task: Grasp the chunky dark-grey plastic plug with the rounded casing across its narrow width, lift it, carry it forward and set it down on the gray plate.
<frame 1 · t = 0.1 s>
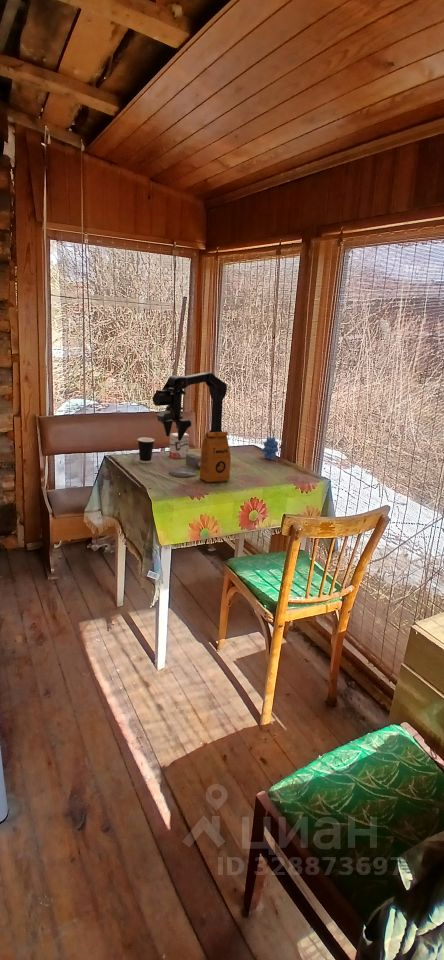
hand: (173, 438, 252), 15 cm above the table, fingers open, 9 cm apart
grapes: (270, 459, 286), on the table
gray plate: (182, 473, 251), on the table
dixie cup: (145, 462, 266), on the table
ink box: (178, 457, 279), on the table
coffee package: (214, 480, 245), on the table
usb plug: (193, 466, 264), on the table
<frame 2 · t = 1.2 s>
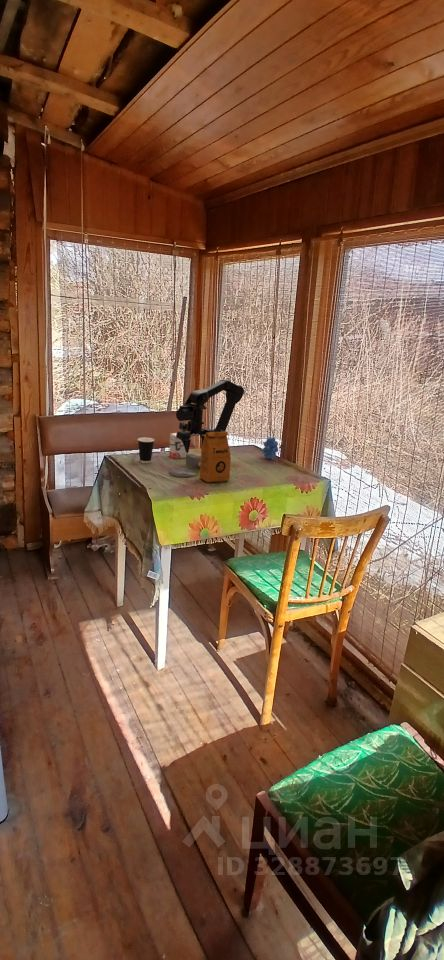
hand: (194, 451, 262), 7 cm above the table, fingers open, 9 cm apart
nothing on the table moved.
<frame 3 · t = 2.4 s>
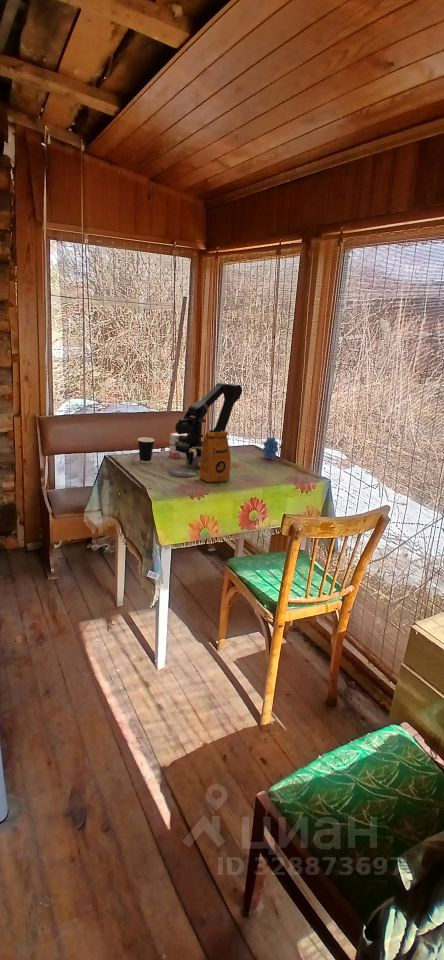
hand: (193, 464, 264), 1 cm above the table, fingers closed on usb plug, 4 cm apart
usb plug: (193, 466, 264), on the table, touching gripper
everything else where it was.
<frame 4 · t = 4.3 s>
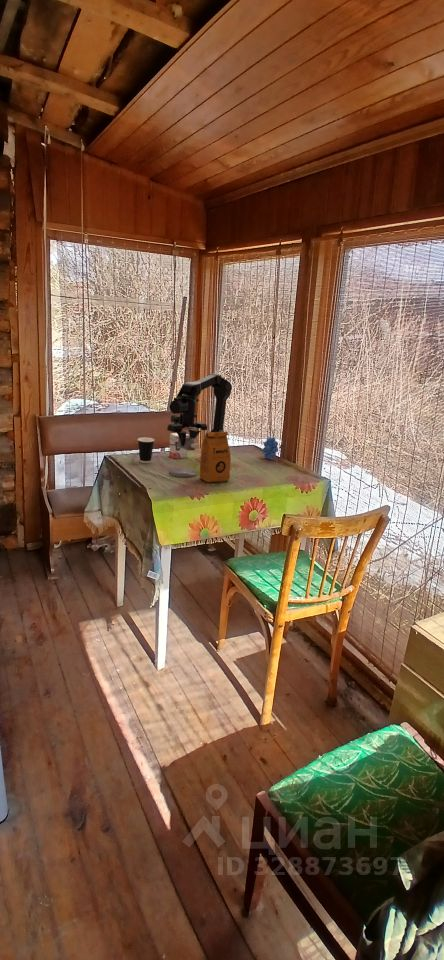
hand: (186, 445, 251), 12 cm above the table, fingers closed on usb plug, 4 cm apart
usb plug: (186, 448, 251), point 11 cm above the table, touching gripper
everything else where it was.
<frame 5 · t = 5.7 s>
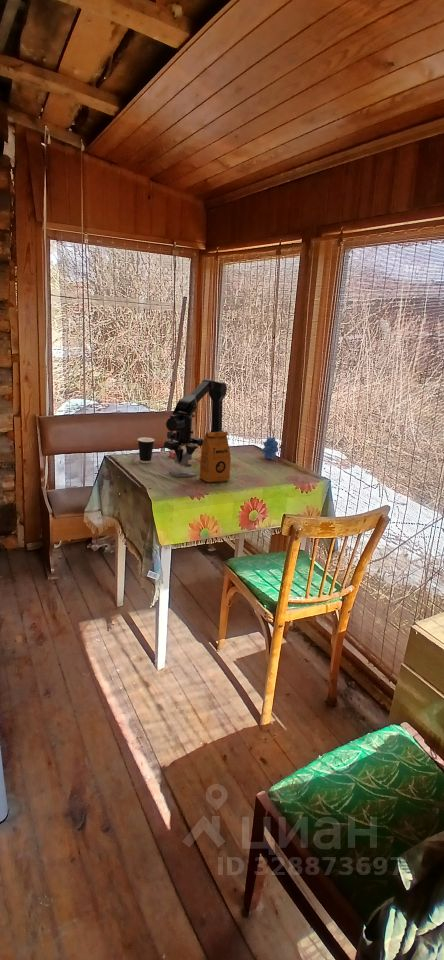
hand: (183, 461, 250), 5 cm above the table, fingers closed on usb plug, 4 cm apart
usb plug: (183, 464, 250), point 4 cm above the table, touching gripper
everything else where it was.
when the fingers open (3 cm above the table, at t = 6.5 s): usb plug drops 1 cm, resting on gray plate.
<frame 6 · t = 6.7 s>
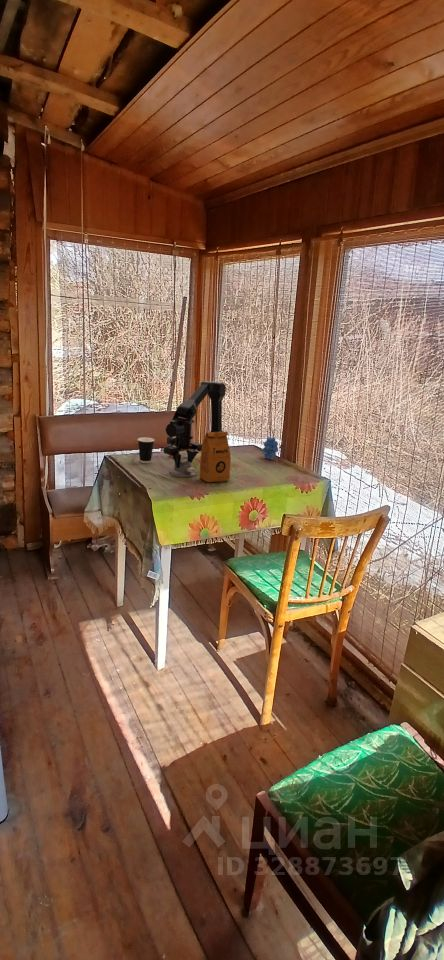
hand: (183, 467, 250), 3 cm above the table, fingers open, 6 cm apart
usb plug: (182, 471, 251), point 1 cm above the table, touching gray plate
everything else where it was.
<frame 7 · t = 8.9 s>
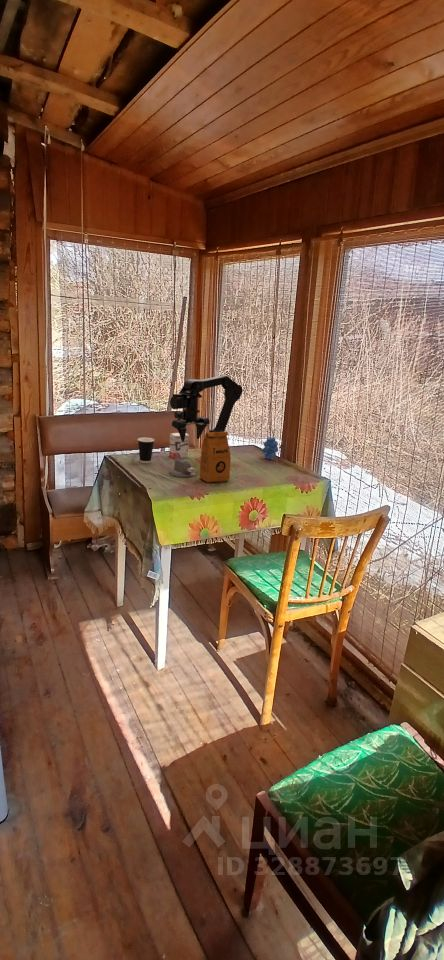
hand: (190, 440, 261), 12 cm above the table, fingers open, 9 cm apart
nothing on the table moved.
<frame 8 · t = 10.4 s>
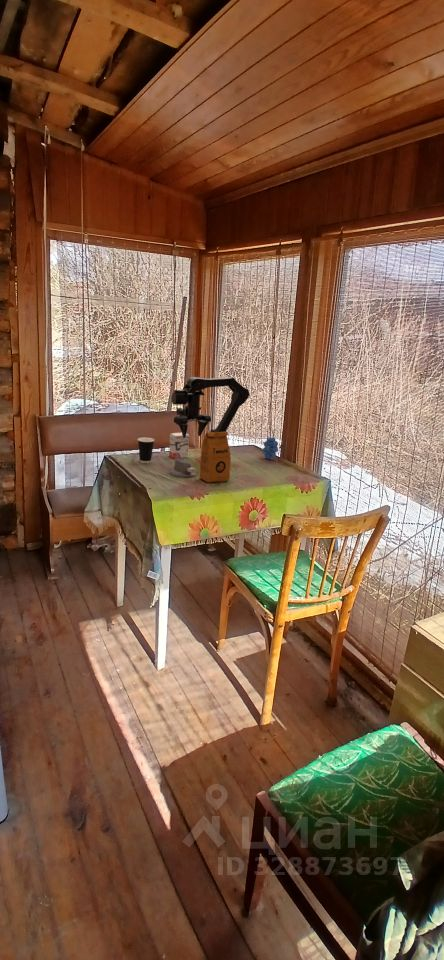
hand: (191, 436, 265), 13 cm above the table, fingers open, 9 cm apart
nothing on the table moved.
at the end: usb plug 0.1 cm from the gray plate (horizontally); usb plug point 0.9 cm above the table; the gripper is holding nothing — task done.
